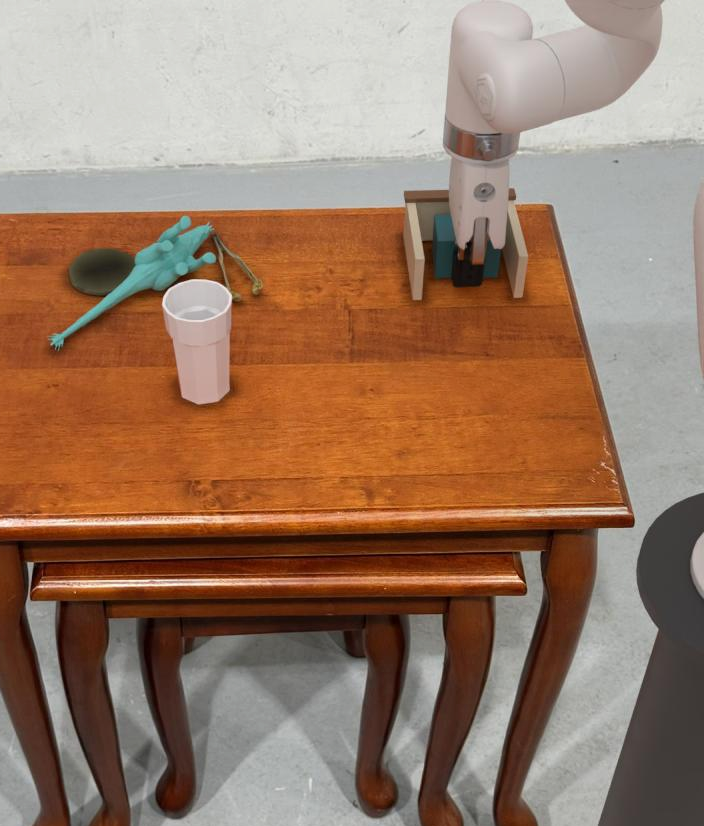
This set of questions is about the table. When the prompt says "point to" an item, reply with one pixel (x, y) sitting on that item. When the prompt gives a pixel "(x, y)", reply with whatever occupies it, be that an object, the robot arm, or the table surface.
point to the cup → (200, 337)
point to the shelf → (436, 202)
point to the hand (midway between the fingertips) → (466, 282)
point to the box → (446, 244)
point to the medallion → (100, 270)
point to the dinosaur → (154, 269)
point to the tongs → (239, 261)
